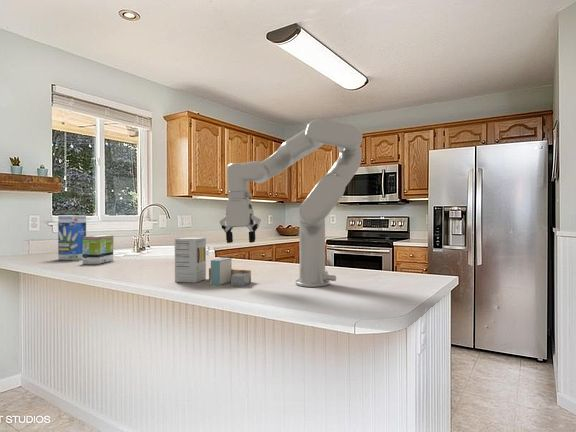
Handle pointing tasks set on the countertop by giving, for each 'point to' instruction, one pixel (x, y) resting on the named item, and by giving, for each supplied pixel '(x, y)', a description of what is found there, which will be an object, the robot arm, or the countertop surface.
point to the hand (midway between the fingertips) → (240, 242)
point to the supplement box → (190, 259)
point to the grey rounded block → (240, 279)
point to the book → (221, 271)
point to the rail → (235, 272)
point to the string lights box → (71, 237)
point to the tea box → (97, 249)
